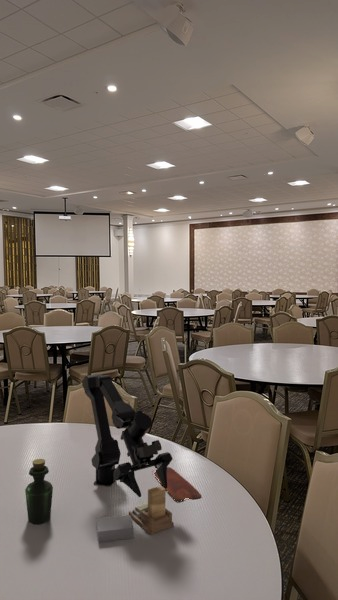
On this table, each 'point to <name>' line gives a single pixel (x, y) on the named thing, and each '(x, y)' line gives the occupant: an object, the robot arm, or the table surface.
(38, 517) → the potion bottle
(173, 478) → the wooden tablet
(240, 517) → the table surface
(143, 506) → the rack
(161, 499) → the oak block
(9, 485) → the table surface
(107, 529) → the plinth
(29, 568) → the table surface
